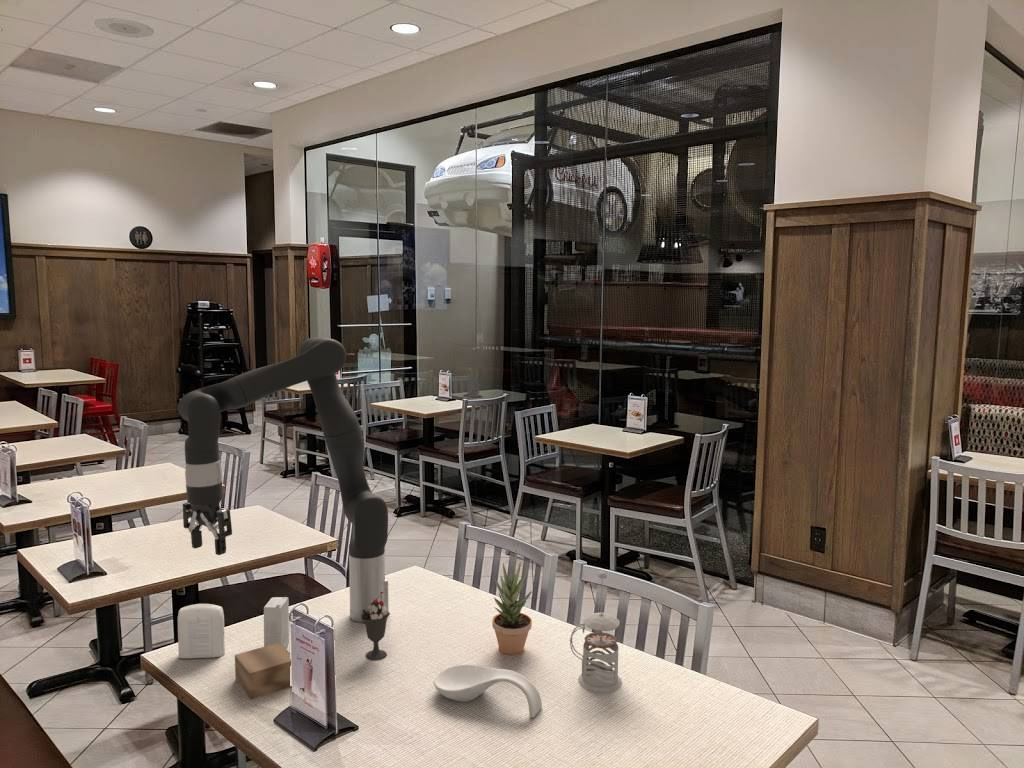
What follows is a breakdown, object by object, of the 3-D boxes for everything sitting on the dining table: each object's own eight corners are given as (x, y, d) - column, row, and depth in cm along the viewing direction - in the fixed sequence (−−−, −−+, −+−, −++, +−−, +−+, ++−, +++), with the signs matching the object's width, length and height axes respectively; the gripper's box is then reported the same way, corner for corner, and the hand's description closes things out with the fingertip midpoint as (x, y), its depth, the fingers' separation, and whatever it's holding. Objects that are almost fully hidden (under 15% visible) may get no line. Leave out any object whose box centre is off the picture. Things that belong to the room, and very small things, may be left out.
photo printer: (227, 649, 175) (225, 599, 174) (222, 658, 171) (220, 607, 170) (182, 652, 174) (179, 602, 173) (176, 660, 170) (173, 609, 168)
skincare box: (272, 644, 178) (270, 596, 177) (290, 644, 178) (289, 596, 177) (263, 656, 172) (261, 607, 171) (282, 656, 172) (280, 607, 171)
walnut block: (280, 667, 168) (279, 642, 167) (296, 685, 160) (296, 659, 159) (235, 680, 162) (234, 654, 161) (250, 700, 154) (249, 673, 153)
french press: (621, 695, 157) (624, 582, 154) (566, 689, 159) (568, 577, 156) (623, 672, 166) (626, 565, 163) (572, 666, 168) (574, 561, 166)
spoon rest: (423, 701, 154) (423, 669, 153) (450, 675, 165) (450, 645, 164) (527, 729, 144) (527, 694, 144) (549, 699, 155) (549, 667, 154)
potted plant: (531, 658, 172) (532, 557, 169) (491, 657, 172) (491, 556, 170) (531, 639, 182) (532, 542, 179) (493, 638, 182) (493, 542, 179)
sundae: (393, 649, 176) (393, 589, 175) (386, 662, 170) (385, 600, 168) (366, 647, 177) (365, 587, 175) (358, 661, 170) (357, 599, 169)
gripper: (238, 481, 164) (243, 551, 166) (199, 473, 171) (204, 540, 174) (209, 489, 158) (214, 561, 160) (169, 480, 165) (174, 550, 167)
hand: (208, 550), depth 167 cm, fingers open, 8 cm apart
